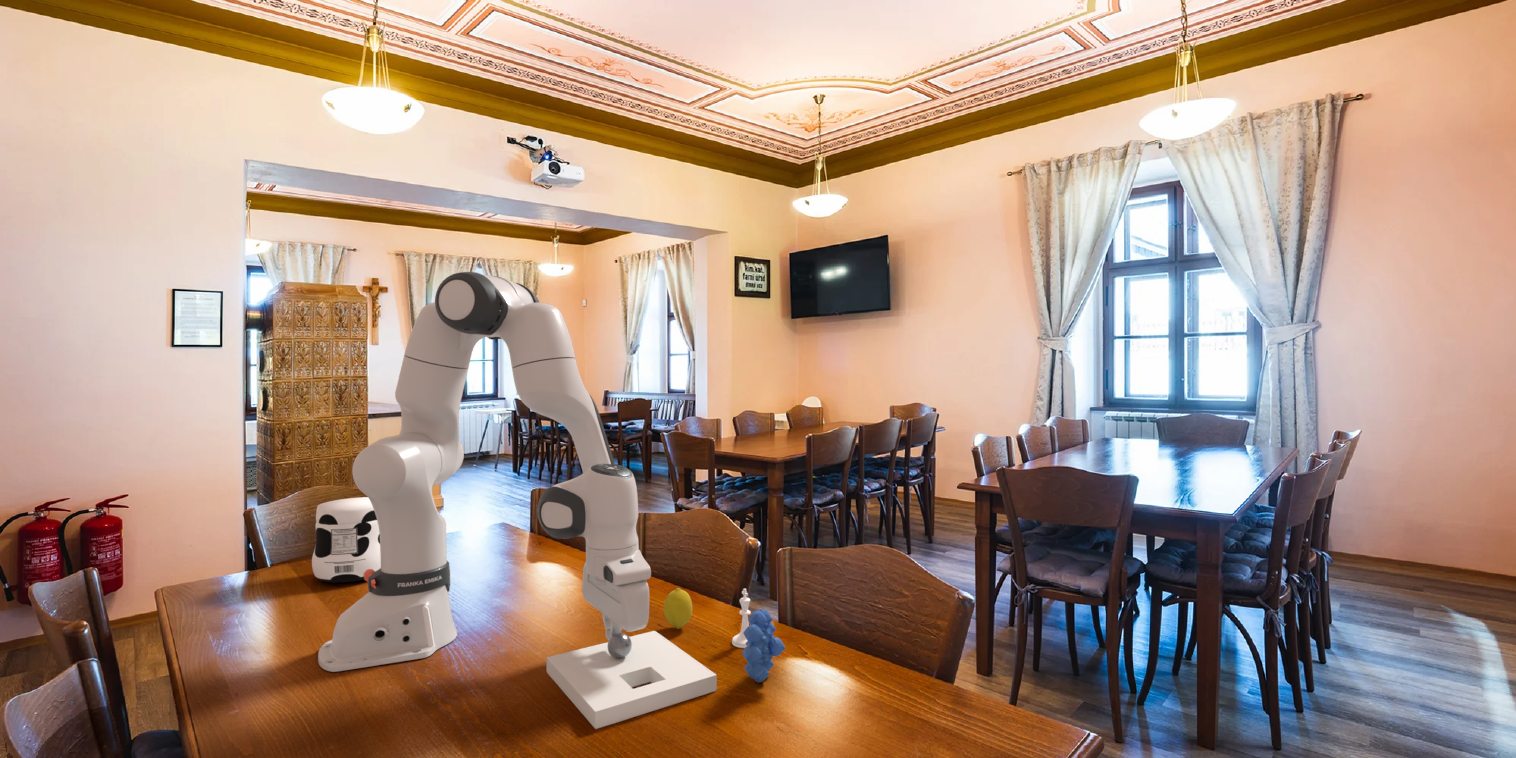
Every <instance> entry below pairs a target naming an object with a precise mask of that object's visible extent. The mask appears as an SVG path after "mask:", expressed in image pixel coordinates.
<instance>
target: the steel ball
mask: <svg viewBox="0 0 1516 758" xmlns="http://www.w3.org/2000/svg"><path fill="white" fill-rule="evenodd" d="M629 637H630V636H629V635H628V634H626V633H623V632H621V633H617V634H615V635H613V636H612V637H611V638H610V639H608V641H607V642H608V646H607V648H608V652H609V654H610V655H611V656H612V657H614V658H618V659H620V658H624V657H625V656H627V655H628V654H629V652H630V651H631V648H632V642H631V639H630V638H629Z"/></svg>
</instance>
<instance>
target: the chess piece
mask: <svg viewBox="0 0 1516 758" xmlns="http://www.w3.org/2000/svg"><path fill="white" fill-rule="evenodd" d="M741 594H742V597H741V598H740V599H739V604H740V606H741V610H739V613H738V614H739V615H740V616H742V619H741V627H740V632H739V633H738V634H735V635H734V636H733V637H732V641H731V644H732V645H733V647H736V648H739V649H740V648H741V649H745V648H746V647H747V645H746V642H747V641H748V640H747V639H746V637H745V635H744V633H743V632H744V631H745V630H746V628H747V627H748V626H750V625H749V624H750V623H749V621H748V618H749V617H748V615H749V616H750V615H751V614H752V613H751V612H752V611H751V610H749V606H750V604H751V598H749V593H748V591H747V588H742V591H741Z"/></svg>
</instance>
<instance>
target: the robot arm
mask: <svg viewBox="0 0 1516 758" xmlns="http://www.w3.org/2000/svg"><path fill="white" fill-rule="evenodd" d="M412 326H413V327H412V330H411V332H410V334H409V336H408V337H409V338H408V339H407V342H406V347H405V350H404V355H403V360H402V363H401V367H400V371H399V374H398V380H397V384H396V387H395V393H394V396H395V397H394V398H395V400H396V402H397V404H398V405H399V407H400V411H401V412H400V413H401V414H400V415H401V416H400V417H401V429H400V431H399V433H398V434H397V435H392V436H386V437H383V438H381V439H378V440H377V441H374V442H373V443H371V444H370V445H368V446H366V447H365V448H363V449H362V450H361V451H359V453H358V454H357V456H356V457H355V459H354V461H353V464H352V470H351V471H352V478H353V482H354V483H355V486H356V487H357V488H358V490H359V491H360V492H362V493H363V494H364V495H365V497H368V498H369V499H370V501H371V504H372V506H373V509H374V511H375V514H376V518H377V521H378V526H379V533H380V557H381V568H380V569H379V570H377V571H376V572H375V571H374V570H373V569H368V570H366V571H365V572H364V574H365V575H363V576H364V581H366V582H367V585H368V588H367V590H368V592H367V593H365V595H363V596H362V597H361V598H359V599H357V601H355V603H353V604H352V605H351V606H350V607H348V608H347V609H345V611H343V612H342V613H341V614H340V616H339V617H338V619H337V620H336V623H335V626H334V629H333V633H332V639H330V640H327V641H326V642H325V643H323V644H322V646H321V647H320V648H319V650H318V654H317V663H318V665H319V666H320V668H321V669H323V670H324V671H327V672H332V673H335V672H343V671H349V670H350V671H351V670H355V669H356V670H357V669H363V668H368V667H375V666H380V665H381V666H382V665H387V664H394V663H401V662H406V661H407V662H408V661H413V660H419V659H420V660H421V659H425V658H428V657H429V656H431V655H432V654H434V653H435V652H436V651H437V650H439V649H441V648H442V647H445V646H446V645H448V644H450V643H452V642H453V641H454V640H455V639H456V638H457V637H458V630H457V628H456V624H455V622H454V618H453V614H452V609H451V602H450V601H451V600H450V595H449V592H450V590H451V589H450V588H451V567H450V562H449V561H448V559H447V553H448V550H447V547H448V546H447V523H446V519H445V517H443V515H441V514H440V513H439V511H438V509H437V505H436V502H435V499H434V495H433V487H434V486H437V485H440V484H442V483H444V482H446V481H447V480H449V479H450V478H451V477H452V476H453V475H454V474H455V473H457V472H458V471H459V470H460V468H461V466H462V465H463V462H464V458H465V457H464V456H465V455H464V454H465V452H464V447H463V445H462V443H461V441H460V429H459V428H460V426H459V425H460V423H459V421H460V420H459V419H460V407H461V402H462V399H463V398H462V397H463V394H464V393H463V392H464V389H465V385H466V384H465V383H466V380H467V376H468V372H469V367H470V363H471V358H472V353H473V351H474V348H475V345H477V343H478V342H479V341H480V340H481V339H483V338H488V339H489V340H502V341H503V342H504V343H505V345H506V347H507V350H508V354H509V357H510V363H511V364H510V365H511V371H512V376H513V377H512V378H513V382H514V386H515V390H516V393H517V396H518V397H519V399H520V401H521V402H522V403H523V404H524V406H526V407H527V408H528V409H529V410H531V411H533V412H534V413H536V414H538V415H541V416H543V417H546V418H549V419H551V420H553V421H556V422H557V423H559V424H561V426H563V427H564V428H565V429H566V430H567V431H568V432H569V434H570V436H571V438H572V441H573V444H574V447H575V450H576V454H577V457H578V460H579V464H580V466H581V467H580V468H581V470H582V474H580V475H577V476H576V477H574V478H572V479H569V480H566V481H563V482H560V483H556V484H553V485H552V486H549V487H546V489H545V490H544V491H542V494H541V495H540V497H539V500H538V503H537V510H536V511H537V519H538V522H539V524H540V526H541V528H542V529H543V531H544V532H545V533H546V534H547V535H549V536H550V537H552V538H555V539H570V538H575V537H582V538H584V539H585V562H584V565H583V569H582V585H581V586H582V588H581V592H582V597H583V599H584V600H585V602H587V603H588V604H589V605H591V606H592V607H593V608H595V609H596V610H597V611H598V612H600V613H601V617H602V618H601V619H602V622H603V625H604V629H605V638H606V639H607V640H609V639H610V638H611V637H612V636H613V635H615V634H617V633H622V631H623V630H624V631H625V632H627V633H631V632H635V631H639V630H642V629H645V628H646V627H647V625H648V623H649V617H650V587H649V584H648V582H647V580H650V578H651V576H652V569H651V567H650V565H649V563H648V562H647V561H646V559H645V558H644V556H643V555H642V552H641V550H640V549H639V548H640V547H639V536H638V534H637V533H638V532H637V523H638V518H639V500H638V499H639V498H638V497H639V496H638V489H637V487H638V486H637V483H636V478H635V476H634V473H633V472H632V471H631V470H630V469H628V467H625V466H623V465H619V464H616V463H615V460H614V457H613V454H612V450H611V446H610V443H609V441H608V437H607V434H606V430H605V428H604V427H605V426H604V423H603V422H602V418H601V415H600V412H599V409H598V407H597V404H596V402H595V400H594V398H593V396H591V394H590V393H589V392H588V391H587V388H586V387H585V384H584V382H583V380H582V377H581V374H580V370H579V368H578V367H579V366H578V363H577V358H576V354H575V349H574V346H573V342H572V337H571V334H570V332H569V329H568V326H567V324H566V321H565V318H564V316H563V314H562V312H561V310H559V308H557V307H556V306H555V305H552V304H549V303H545V302H540V301H539V299H538V296H537V295H536V294H535V293H534V292H533V291H532V290H531V289H529V288H528V287H526V286H525V285H524V284H521V283H519V282H515V281H512V280H509V279H507V278H504V277H501V276H496V275H488V274H481V273H479V272H475V271H463V272H456V273H453V274H451V275H448V276H447V277H446V278H444V280H442V281H441V282H440V284H439V286H438V287H437V290H436V292H435V296H434V301H433V302H431V303H427V304H426V305H424V306H423V308H421V310H420V311H419V313H418V315H417V318H416V320H415V322H414V325H412Z"/></svg>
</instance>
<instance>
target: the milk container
mask: <svg viewBox="0 0 1516 758" xmlns="http://www.w3.org/2000/svg"><path fill="white" fill-rule="evenodd" d="M311 567H312V568H311V569H312V572H313V575H314V576H315V578H316V579H318V580H320V581H322V582H326V583H350V582H353V583H354V582H359V581H363V580H364V581H365V579H364V576H363V575H365V574H364V572H365V571H366V570H368V569H373V570H374V571H375V572H376V571H377V570H379V569H380V568H381V557H380V533H379V526H378V521H377V518H376V514H375V511H374V509H373V506H372V504H371V501H370V499H369V498H368V496H363V497H351V498H350V497H349V498H341V499H335V500H329V501H325V502H323V503H319V504H317V506H316V512H315V546H314V550H313V554H312V557H311Z"/></svg>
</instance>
